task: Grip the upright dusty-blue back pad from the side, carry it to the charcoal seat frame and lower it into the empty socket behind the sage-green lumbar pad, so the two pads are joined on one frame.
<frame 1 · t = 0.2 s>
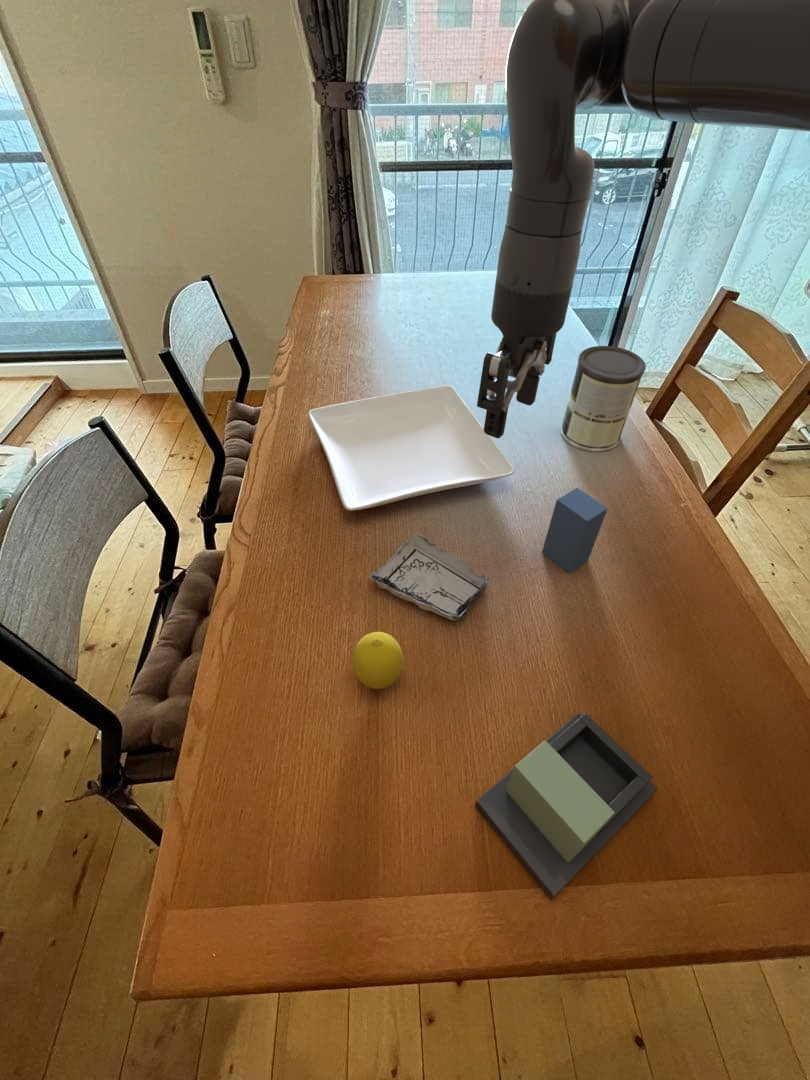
hand: (509, 418, 66), 20 cm above the table, tool pointing down, fingers open, 8 cm apart
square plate: (404, 456, 93), on the table
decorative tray: (430, 587, 74), on the table
lemon: (378, 680, 64), on the table
coffee can: (589, 435, 98), on the table
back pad: (564, 556, 77), on the table
seat frame: (564, 799, 55), on the table
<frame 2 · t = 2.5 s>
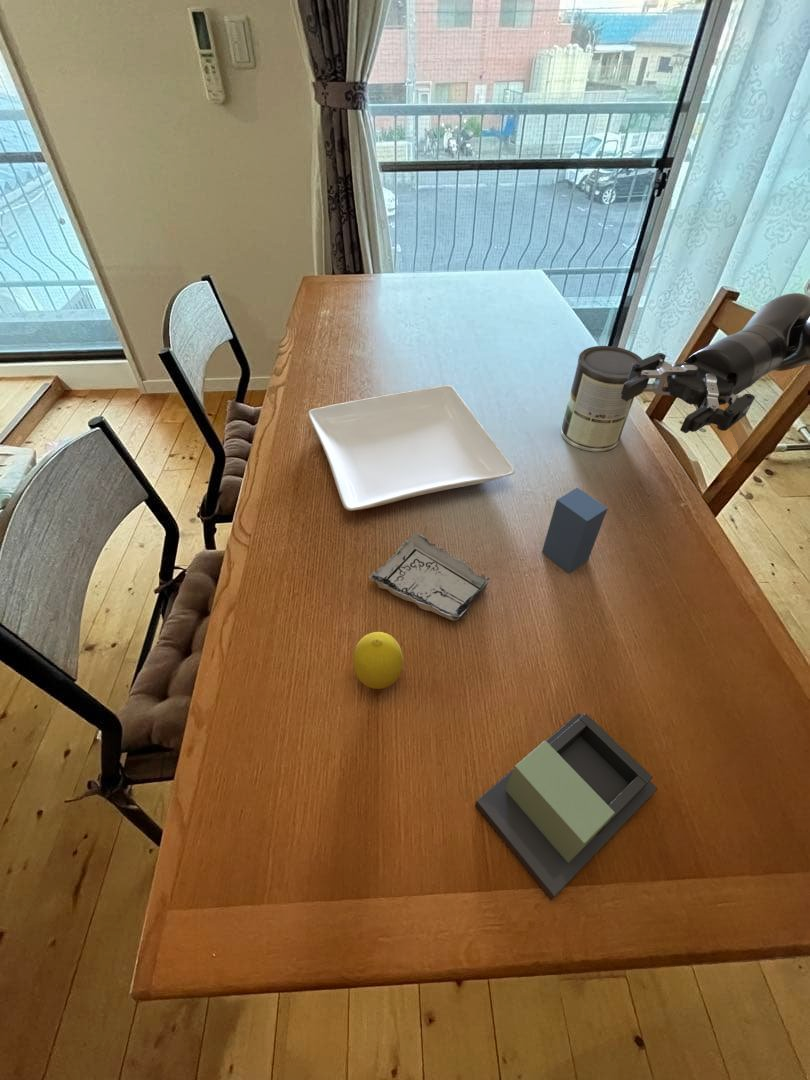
hand: (654, 409, 67), 20 cm above the table, tool horizontal, fingers open, 8 cm apart
nothing on the table moved.
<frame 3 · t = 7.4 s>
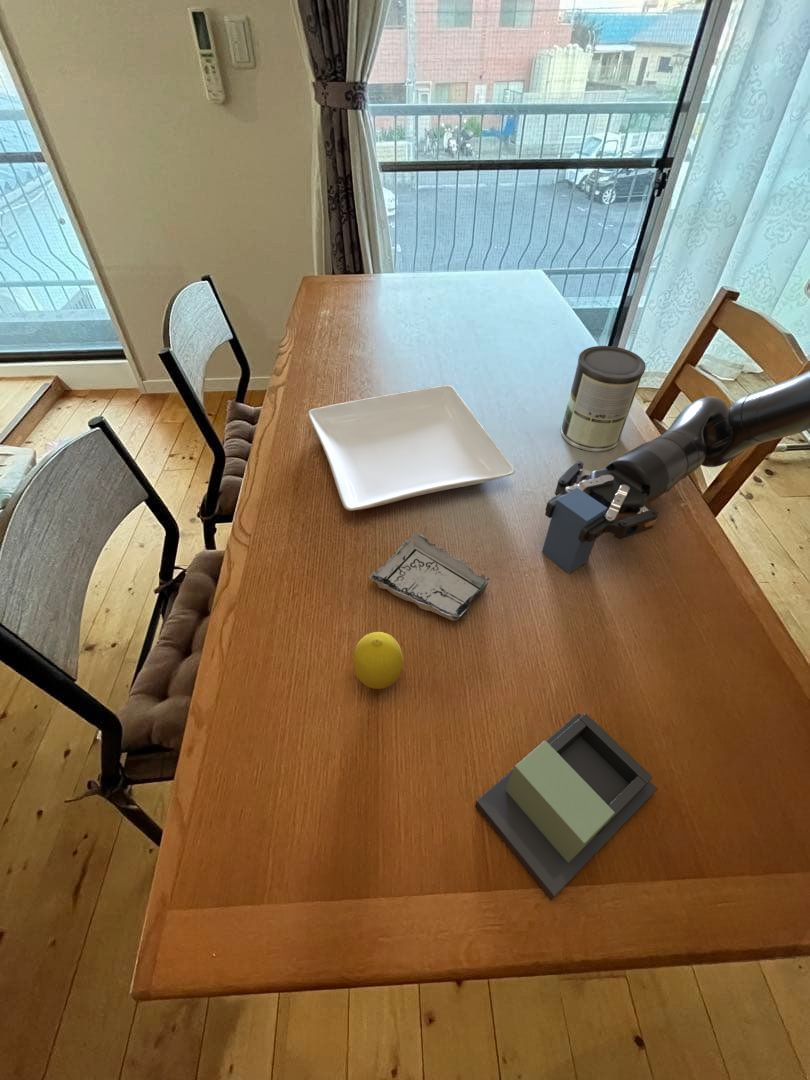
hand: (565, 523, 71), 8 cm above the table, tool horizontal, fingers closed on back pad, 5 cm apart
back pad: (564, 556, 77), on the table, touching gripper
everything else where it was.
when the fingers open (10 cm above the table, at t = 16.2 s): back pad stays where it is, resting on seat frame.
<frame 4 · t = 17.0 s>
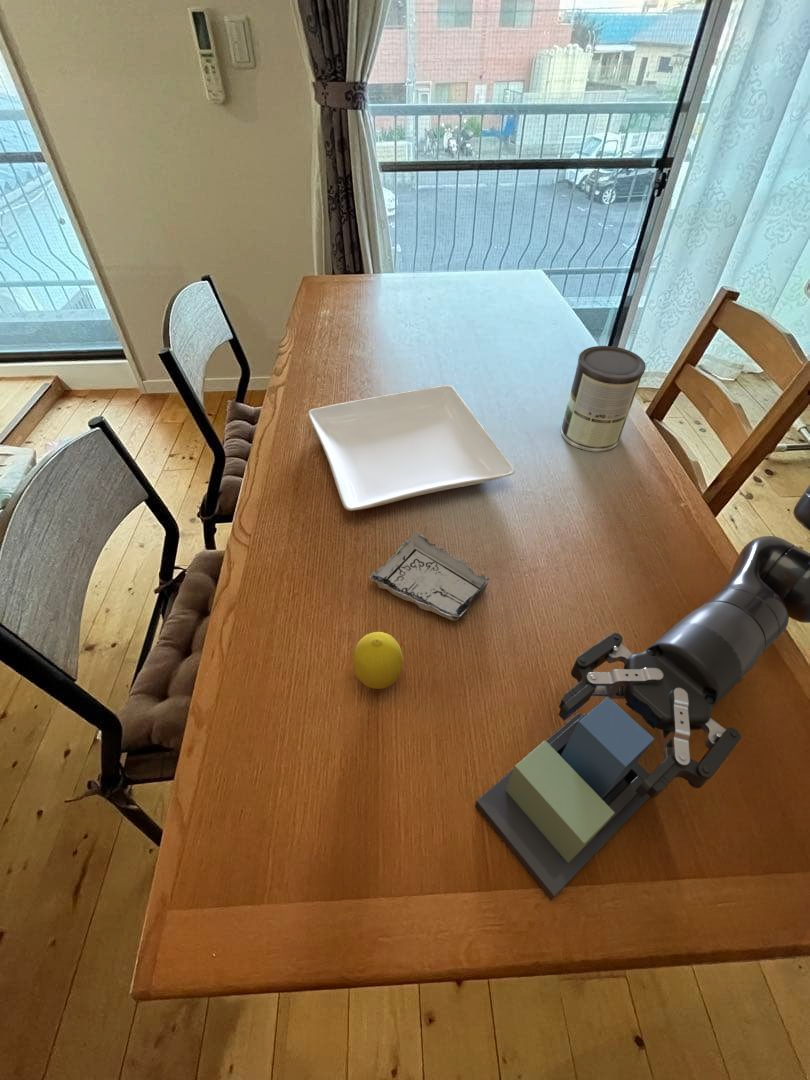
hand: (600, 750, 48), 10 cm above the table, tool horizontal, fingers open, 8 cm apart
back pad: (587, 774, 55), point 1 cm above the table, touching seat frame
everything else where it was.
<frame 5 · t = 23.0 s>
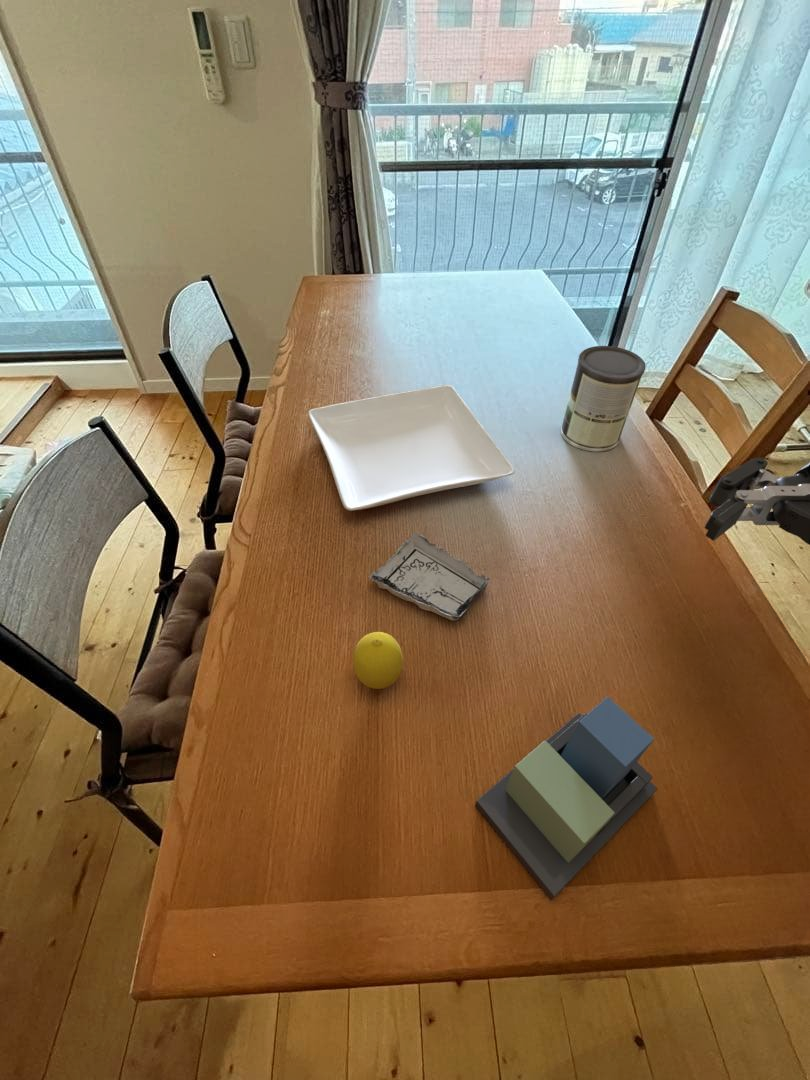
hand: (764, 563, 42), 26 cm above the table, tool horizontal, fingers open, 8 cm apart
nothing on the table moved.
at the end: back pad 0.1 cm from the target spot on the seat frame, point 1.5 cm above the seat frame's base; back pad tilted 0°; the gripper is holding nothing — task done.
